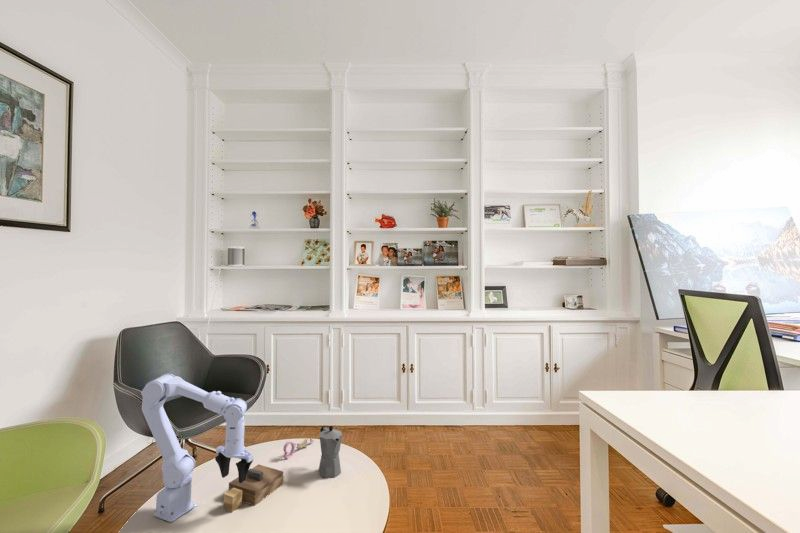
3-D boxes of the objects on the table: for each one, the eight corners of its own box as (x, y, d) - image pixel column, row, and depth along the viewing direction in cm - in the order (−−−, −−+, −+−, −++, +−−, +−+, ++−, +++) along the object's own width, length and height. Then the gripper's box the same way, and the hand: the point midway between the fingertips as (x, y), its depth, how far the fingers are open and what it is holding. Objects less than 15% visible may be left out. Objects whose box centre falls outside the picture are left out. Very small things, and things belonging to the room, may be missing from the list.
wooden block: (232, 512, 120) (232, 496, 121) (223, 509, 122) (223, 493, 122) (241, 505, 124) (242, 490, 124) (233, 502, 126) (233, 487, 126)
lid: (255, 494, 124) (255, 483, 124) (228, 485, 129) (229, 475, 129) (283, 474, 137) (283, 464, 137) (258, 467, 142) (258, 457, 142)
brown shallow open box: (254, 505, 124) (255, 495, 124) (228, 496, 129) (228, 486, 129) (283, 484, 137) (283, 474, 137) (258, 476, 142) (258, 467, 142)
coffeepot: (348, 476, 144) (349, 429, 144) (325, 483, 138) (327, 435, 139) (330, 459, 156) (332, 416, 157) (309, 466, 151) (310, 421, 151)
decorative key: (314, 449, 172) (284, 460, 154) (312, 448, 172) (281, 459, 155) (316, 433, 173) (286, 443, 155) (314, 433, 173) (284, 442, 156)
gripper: (260, 437, 125) (259, 477, 124) (228, 429, 130) (227, 468, 130) (244, 445, 118) (242, 488, 118) (211, 437, 124) (210, 478, 123)
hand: (233, 478), depth 123 cm, fingers open, 7 cm apart
